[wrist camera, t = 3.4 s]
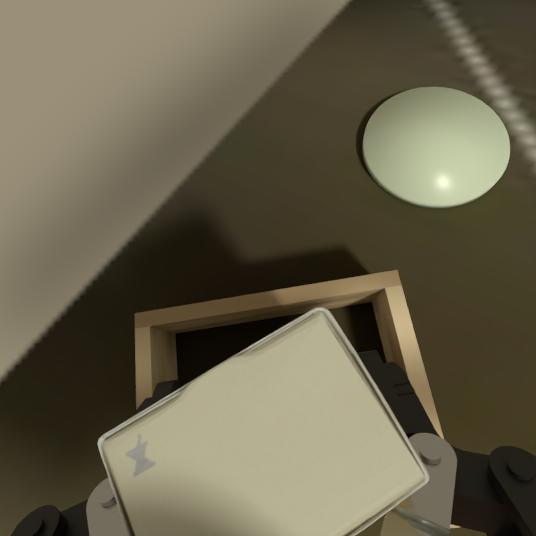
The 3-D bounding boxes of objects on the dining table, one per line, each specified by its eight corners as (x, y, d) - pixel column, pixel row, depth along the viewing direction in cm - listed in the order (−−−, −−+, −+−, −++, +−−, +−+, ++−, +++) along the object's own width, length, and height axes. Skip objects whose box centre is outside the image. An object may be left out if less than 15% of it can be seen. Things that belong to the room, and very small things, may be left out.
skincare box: (253, 477, 18) (152, 678, 6) (216, 400, 19) (76, 445, 7) (356, 413, 18) (445, 487, 6) (313, 342, 19) (324, 298, 8)
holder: (435, 495, 17) (467, 526, 13) (171, 527, 17) (139, 564, 14) (382, 286, 20) (397, 269, 17) (162, 322, 21) (134, 313, 17)
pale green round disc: (526, 122, 22) (532, 116, 22) (470, 232, 20) (475, 228, 20) (398, 76, 24) (400, 69, 24) (338, 172, 23) (339, 167, 22)
